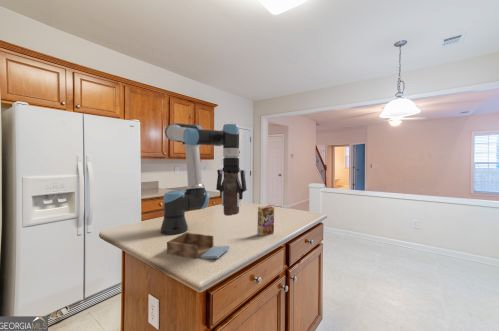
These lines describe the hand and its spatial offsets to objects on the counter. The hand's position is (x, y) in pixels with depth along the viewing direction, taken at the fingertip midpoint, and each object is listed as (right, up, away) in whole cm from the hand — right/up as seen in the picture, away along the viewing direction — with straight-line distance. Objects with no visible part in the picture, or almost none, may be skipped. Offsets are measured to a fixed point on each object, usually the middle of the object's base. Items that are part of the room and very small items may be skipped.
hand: (231, 205), depth 109 cm
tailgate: (-10, -19, -8) cm, 23 cm away
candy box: (+18, -20, +20) cm, 33 cm away
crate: (-17, -20, -5) cm, 27 cm away
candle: (0, -4, 0) cm, 4 cm away
